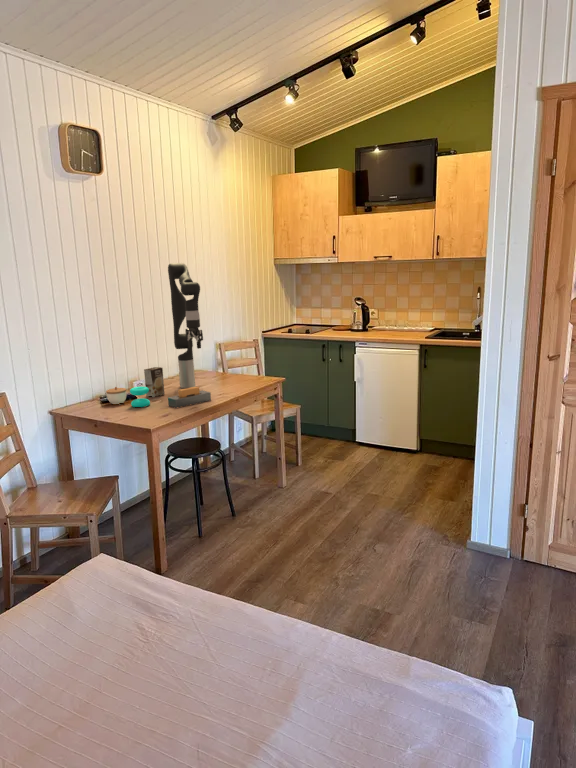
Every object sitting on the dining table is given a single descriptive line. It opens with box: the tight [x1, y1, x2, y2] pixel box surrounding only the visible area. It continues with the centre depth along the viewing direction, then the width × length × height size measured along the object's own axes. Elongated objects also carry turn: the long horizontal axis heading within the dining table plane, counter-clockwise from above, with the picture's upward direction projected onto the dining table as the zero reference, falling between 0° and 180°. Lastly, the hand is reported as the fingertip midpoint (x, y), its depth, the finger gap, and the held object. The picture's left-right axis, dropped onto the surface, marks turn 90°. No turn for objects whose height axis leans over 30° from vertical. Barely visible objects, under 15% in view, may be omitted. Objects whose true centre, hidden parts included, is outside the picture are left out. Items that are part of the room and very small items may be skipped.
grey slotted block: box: [167, 389, 212, 409], centre depth 294 cm, size 8×22×4 cm, turn 132°
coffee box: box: [143, 366, 165, 398], centre depth 315 cm, size 9×6×16 cm
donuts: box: [129, 385, 151, 408], centre depth 291 cm, size 10×10×10 cm
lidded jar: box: [105, 386, 127, 405], centre depth 299 cm, size 11×11×9 cm
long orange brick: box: [177, 386, 200, 398], centre depth 293 cm, size 4×11×8 cm, turn 132°
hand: (195, 347), depth 303 cm, fingers open, 8 cm apart
